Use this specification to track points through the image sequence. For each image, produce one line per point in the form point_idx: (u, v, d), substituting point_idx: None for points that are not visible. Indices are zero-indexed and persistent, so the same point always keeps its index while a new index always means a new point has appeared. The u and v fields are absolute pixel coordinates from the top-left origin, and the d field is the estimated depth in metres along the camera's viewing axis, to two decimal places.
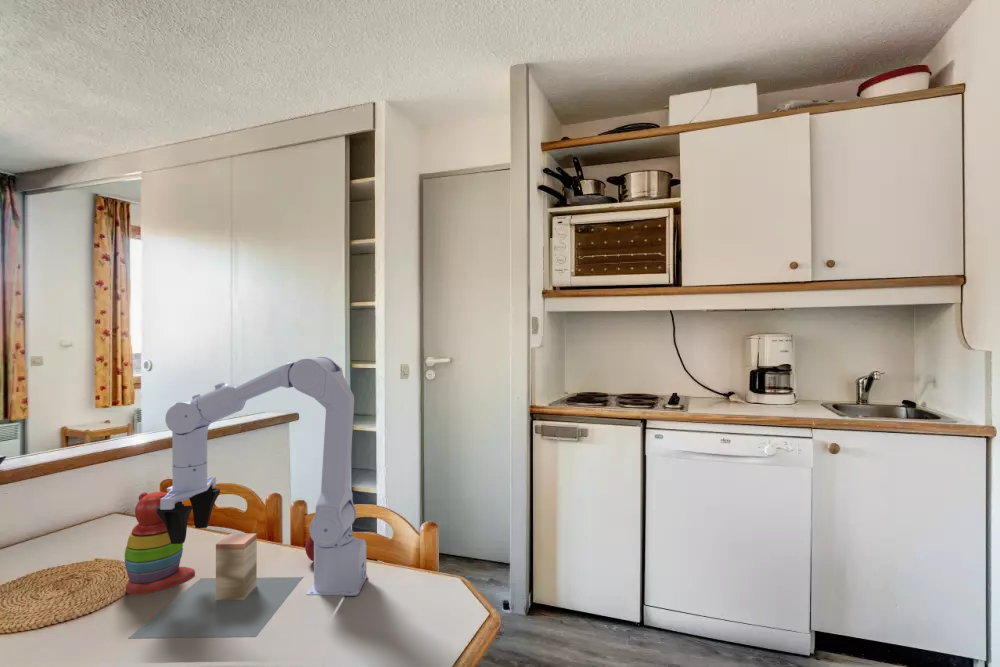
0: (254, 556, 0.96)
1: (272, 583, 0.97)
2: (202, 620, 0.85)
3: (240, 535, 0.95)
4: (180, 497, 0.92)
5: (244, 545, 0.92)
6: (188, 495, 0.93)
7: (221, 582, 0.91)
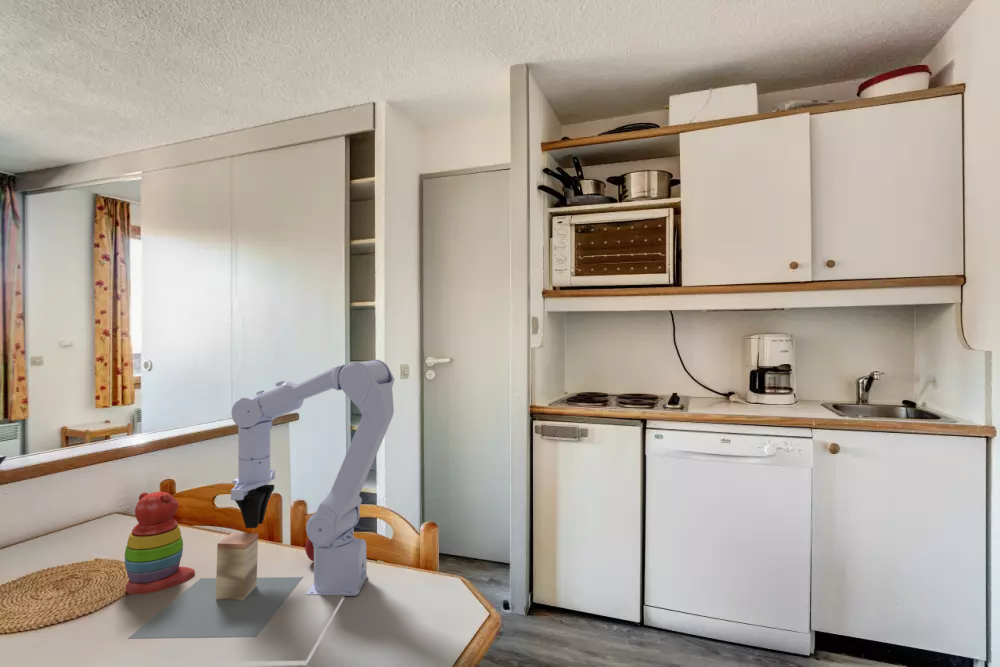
0: (255, 556, 0.96)
1: (272, 583, 0.97)
2: (202, 620, 0.85)
3: (242, 535, 0.95)
4: (248, 488, 0.96)
5: (245, 545, 0.92)
6: (255, 487, 0.97)
7: (222, 581, 0.91)
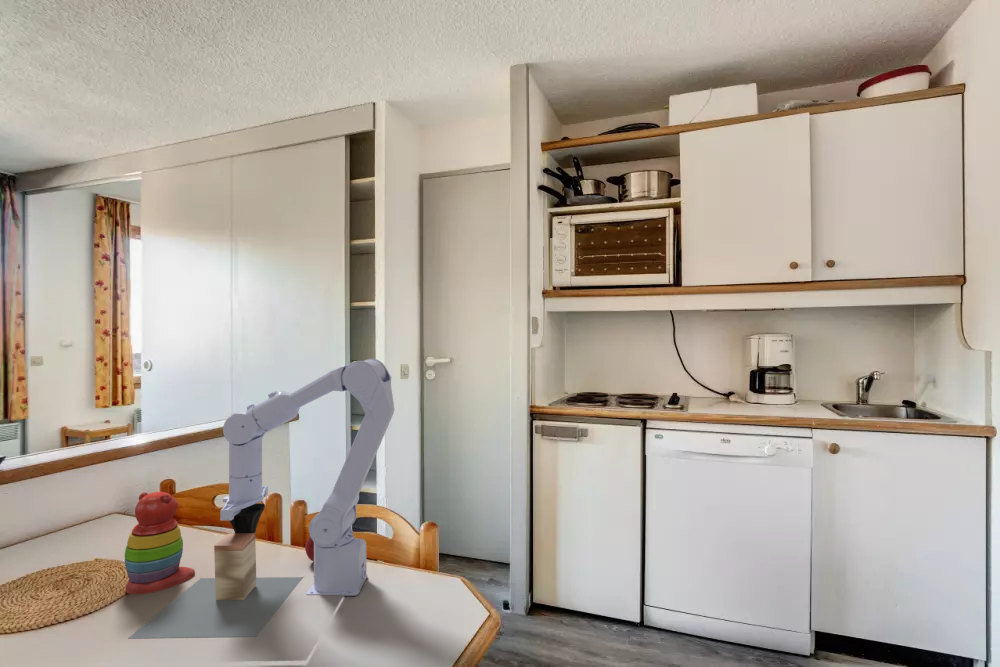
0: (253, 556, 0.95)
1: (272, 583, 0.97)
2: (202, 620, 0.85)
3: (239, 535, 0.95)
4: (239, 508, 0.92)
5: (242, 546, 0.91)
6: (246, 506, 0.94)
7: (220, 582, 0.91)
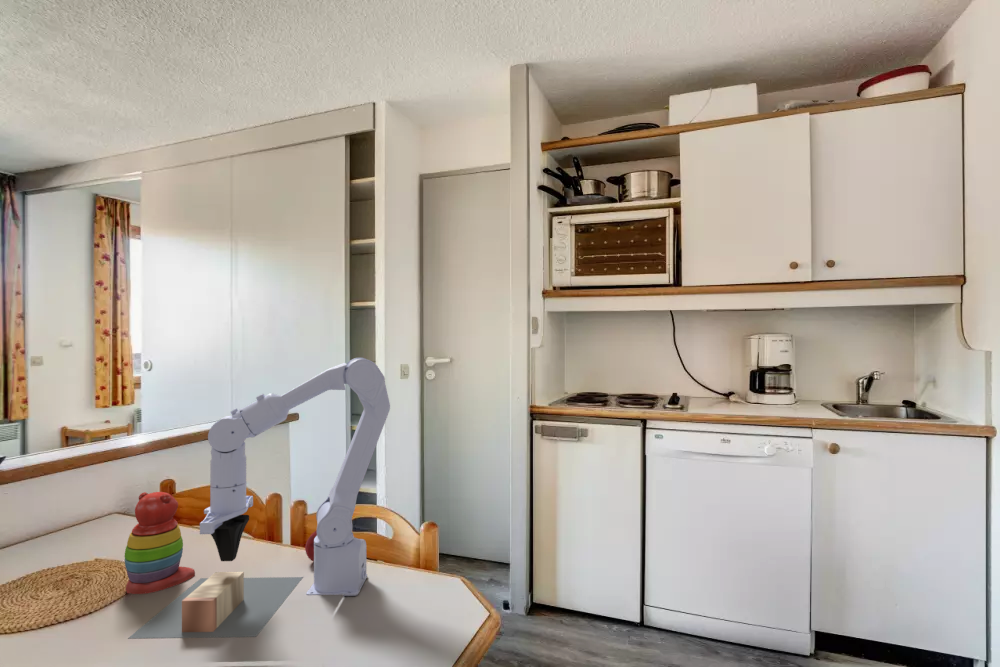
0: (226, 593, 0.85)
1: (272, 583, 0.97)
2: None
3: (197, 606, 0.81)
4: (220, 520, 0.86)
5: (214, 629, 0.82)
6: (228, 518, 0.87)
7: None
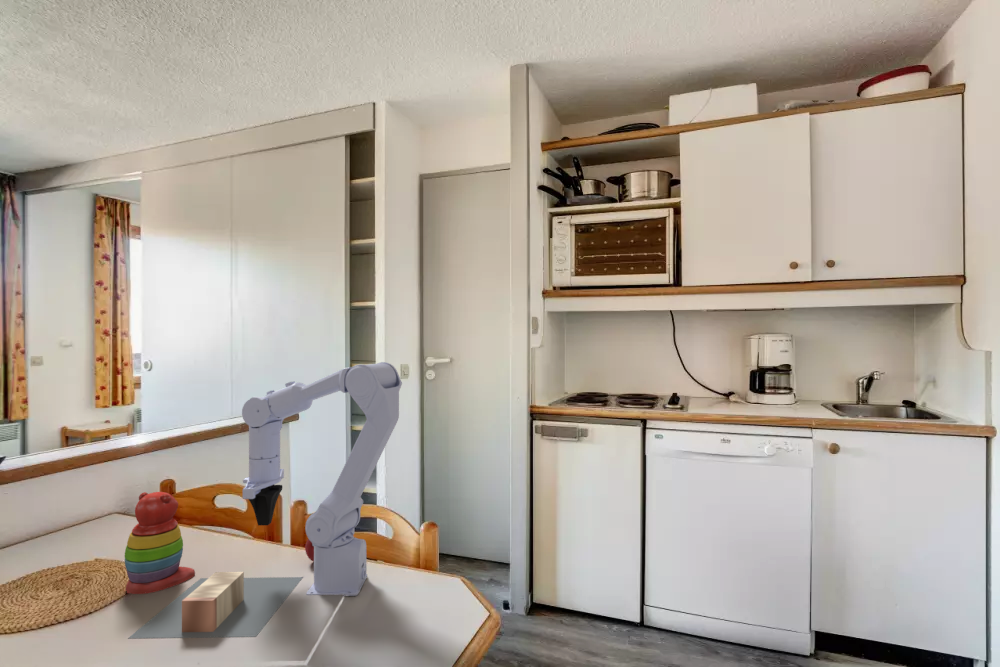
0: (226, 593, 0.85)
1: (272, 583, 0.97)
2: None
3: (197, 606, 0.81)
4: (259, 487, 0.96)
5: (214, 629, 0.82)
6: (266, 486, 0.98)
7: None
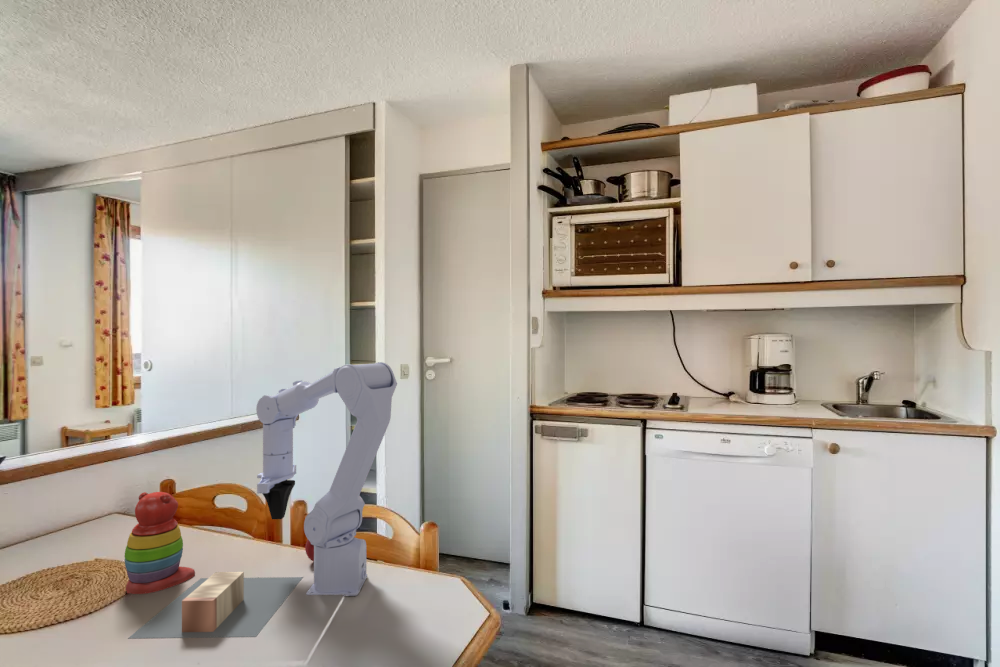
0: (226, 593, 0.85)
1: (272, 583, 0.97)
2: None
3: (197, 606, 0.81)
4: (273, 482, 1.00)
5: (214, 629, 0.82)
6: (279, 481, 1.01)
7: None
